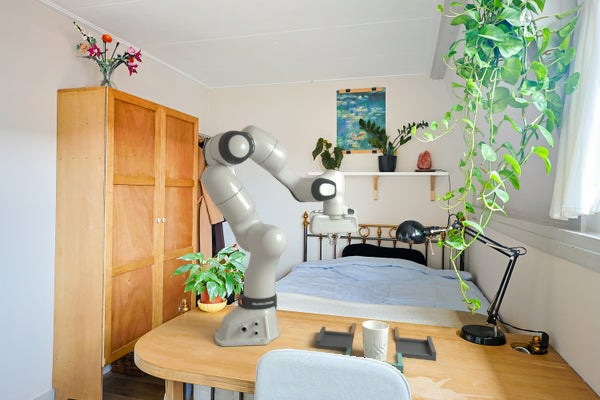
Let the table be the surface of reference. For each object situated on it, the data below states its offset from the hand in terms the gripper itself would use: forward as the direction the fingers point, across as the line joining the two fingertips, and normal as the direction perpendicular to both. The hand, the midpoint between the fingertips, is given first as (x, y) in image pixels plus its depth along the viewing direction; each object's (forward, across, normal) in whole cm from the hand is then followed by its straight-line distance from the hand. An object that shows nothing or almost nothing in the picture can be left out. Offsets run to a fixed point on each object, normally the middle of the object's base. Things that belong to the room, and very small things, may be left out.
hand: (333, 244), depth 145 cm
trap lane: (+29, +2, -30) cm, 42 cm away
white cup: (+29, -2, -38) cm, 48 cm away
